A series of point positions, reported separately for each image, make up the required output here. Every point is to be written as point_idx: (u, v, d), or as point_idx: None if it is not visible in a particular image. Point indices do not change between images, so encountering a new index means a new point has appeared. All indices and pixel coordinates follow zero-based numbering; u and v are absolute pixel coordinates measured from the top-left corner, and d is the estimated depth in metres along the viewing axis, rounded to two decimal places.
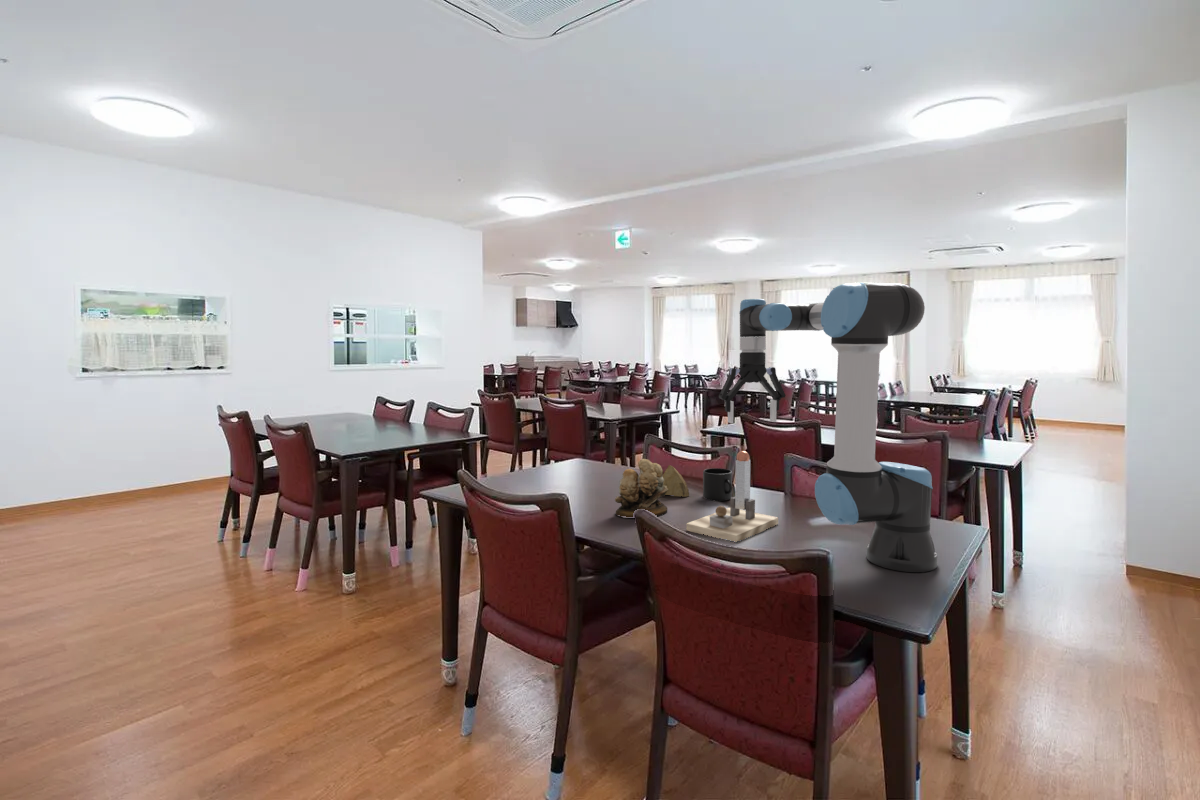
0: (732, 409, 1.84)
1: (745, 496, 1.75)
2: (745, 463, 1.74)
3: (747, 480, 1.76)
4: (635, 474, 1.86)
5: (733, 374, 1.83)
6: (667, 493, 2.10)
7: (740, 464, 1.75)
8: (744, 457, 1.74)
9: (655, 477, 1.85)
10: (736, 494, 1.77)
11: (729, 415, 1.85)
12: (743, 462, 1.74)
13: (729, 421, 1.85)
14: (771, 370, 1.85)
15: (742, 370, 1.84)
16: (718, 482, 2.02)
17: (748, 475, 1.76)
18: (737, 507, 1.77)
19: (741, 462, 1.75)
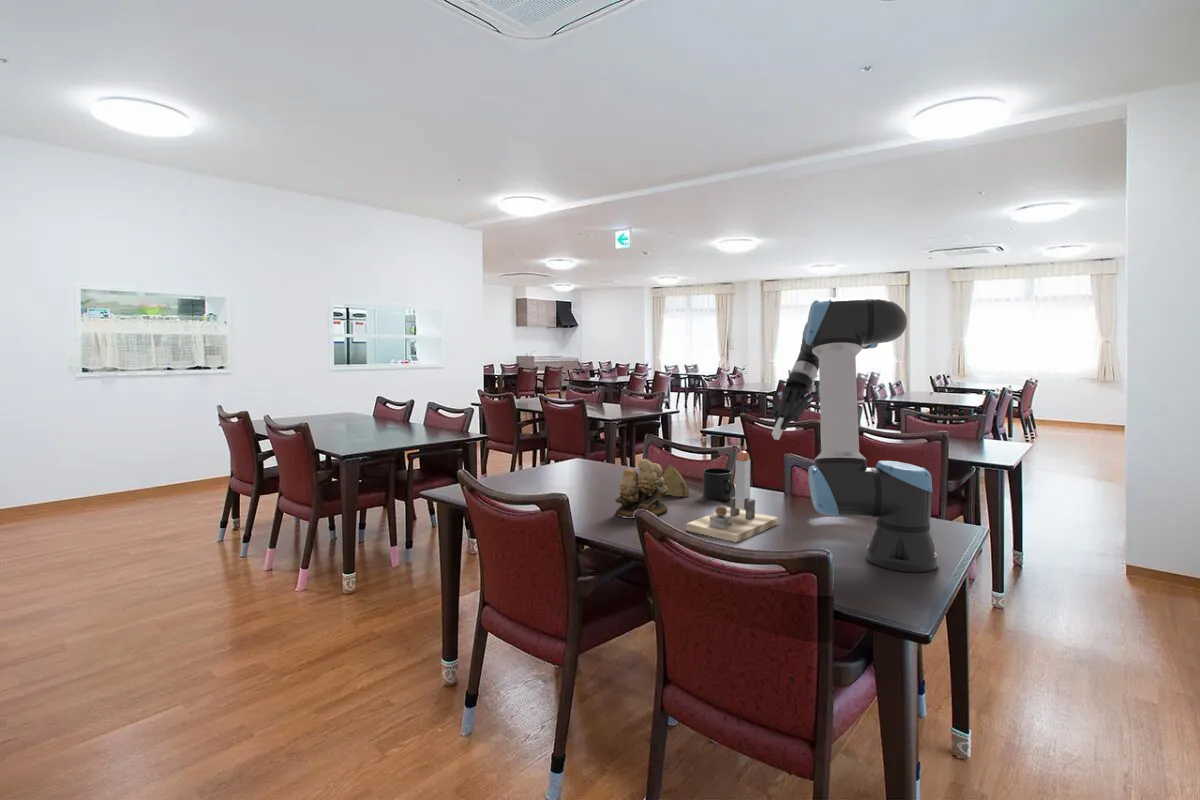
0: (777, 423, 1.90)
1: (745, 496, 1.75)
2: (745, 463, 1.74)
3: (747, 480, 1.76)
4: (635, 474, 1.86)
5: (776, 395, 1.98)
6: (667, 493, 2.10)
7: (740, 464, 1.75)
8: (744, 457, 1.74)
9: (655, 477, 1.85)
10: (736, 494, 1.77)
11: None
12: (743, 462, 1.74)
13: None
14: None
15: (783, 390, 1.98)
16: (718, 482, 2.02)
17: (748, 475, 1.76)
18: (737, 507, 1.77)
19: (741, 462, 1.75)
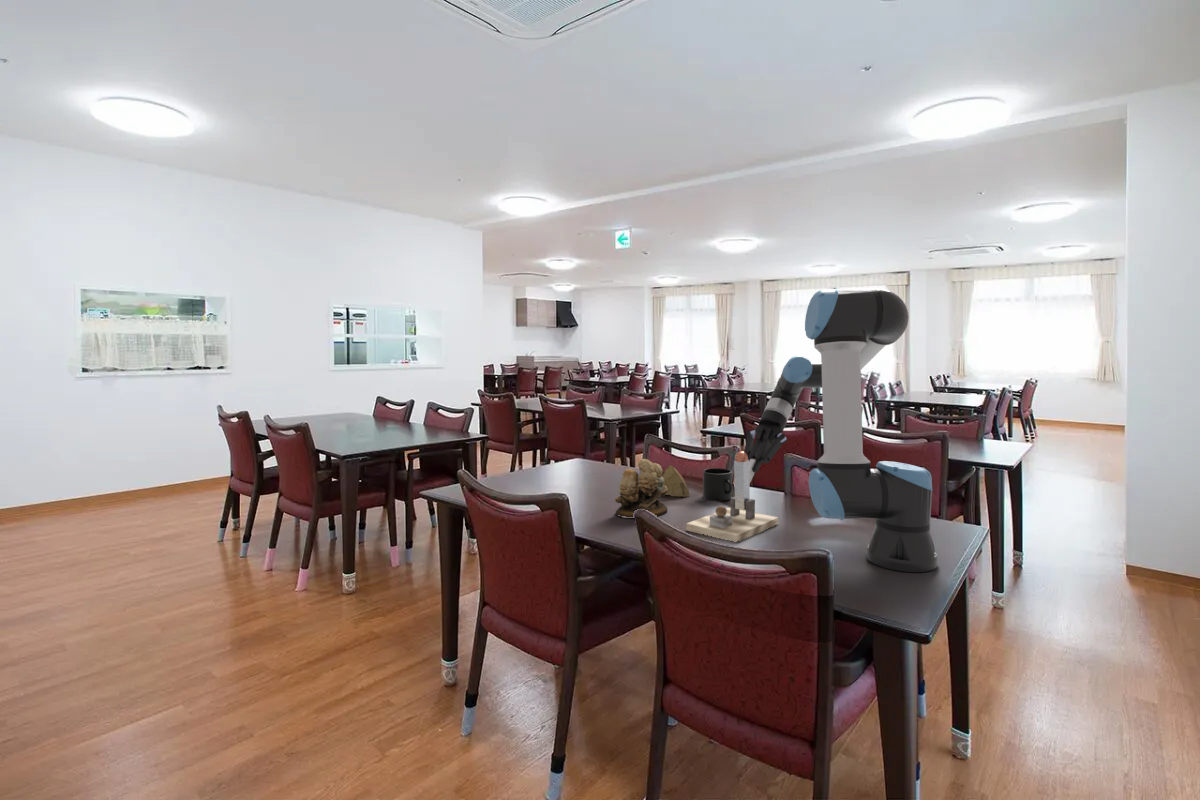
0: None
1: (745, 496, 1.75)
2: (744, 464, 1.74)
3: (746, 480, 1.75)
4: (635, 474, 1.86)
5: (748, 434, 1.88)
6: (667, 493, 2.10)
7: (739, 465, 1.74)
8: (743, 458, 1.73)
9: (655, 477, 1.85)
10: (736, 494, 1.76)
11: None
12: (741, 463, 1.74)
13: None
14: None
15: (756, 428, 1.88)
16: (718, 482, 2.02)
17: (747, 475, 1.75)
18: (737, 507, 1.77)
19: (740, 463, 1.74)
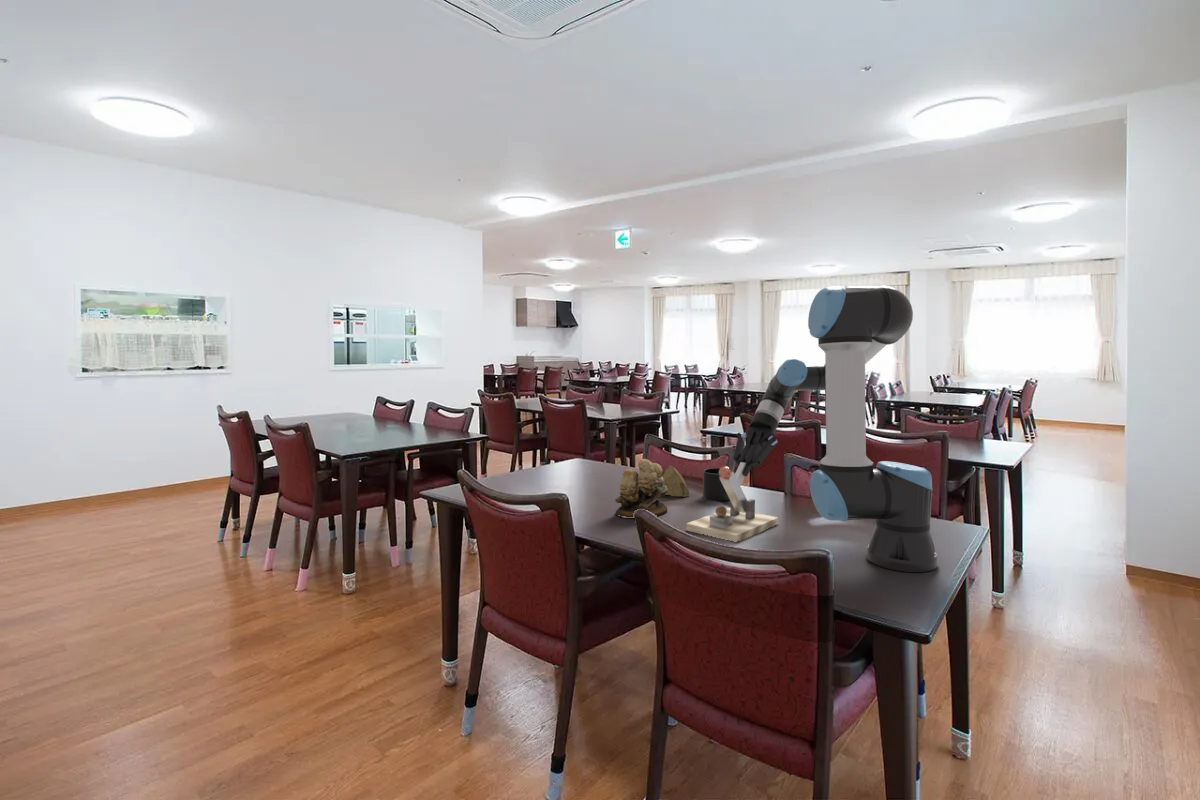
0: (738, 468, 1.75)
1: (741, 502, 1.74)
2: (730, 480, 1.69)
3: (737, 489, 1.72)
4: (635, 474, 1.86)
5: (739, 437, 1.83)
6: (667, 493, 2.10)
7: (725, 481, 1.70)
8: (727, 476, 1.68)
9: (655, 477, 1.85)
10: (732, 502, 1.75)
11: None
12: (727, 480, 1.69)
13: None
14: None
15: (747, 431, 1.84)
16: (718, 482, 2.02)
17: (737, 485, 1.72)
18: (737, 510, 1.77)
19: (726, 480, 1.69)
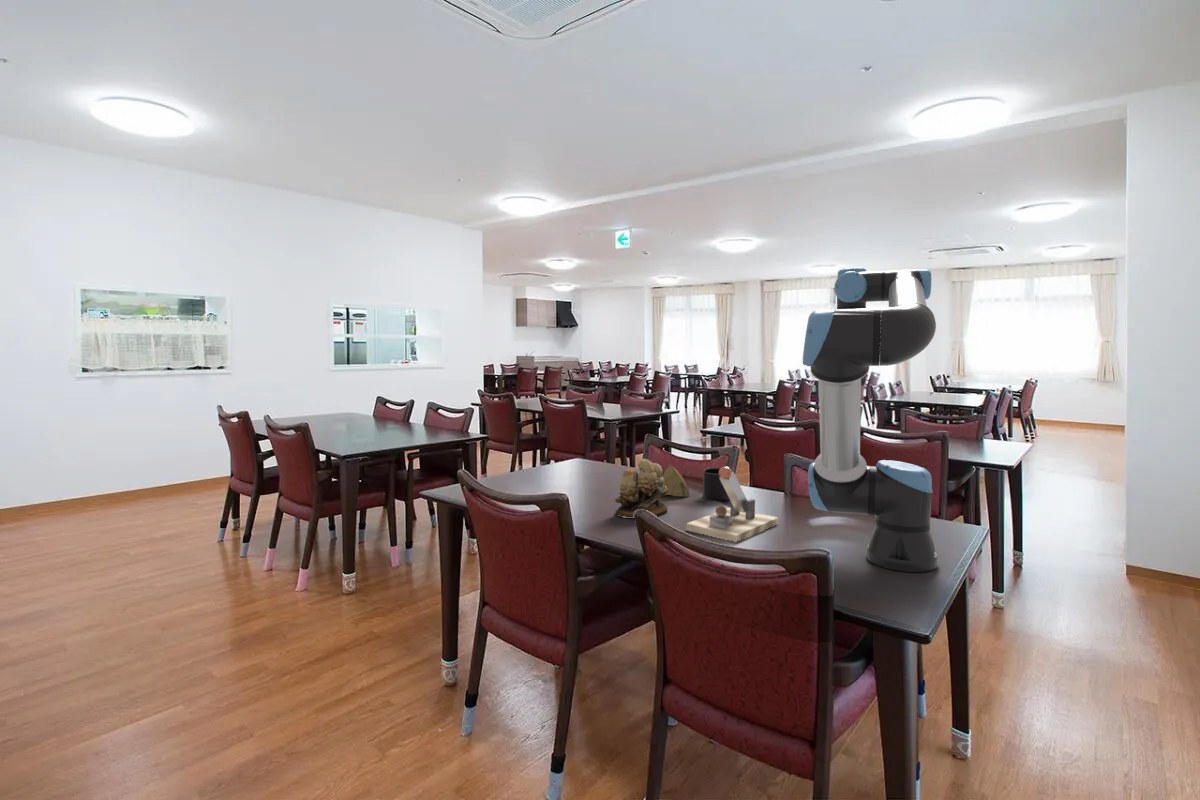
0: None
1: (741, 502, 1.74)
2: (729, 480, 1.69)
3: (737, 489, 1.72)
4: (635, 474, 1.86)
5: None
6: (667, 493, 2.10)
7: (725, 481, 1.70)
8: (727, 476, 1.68)
9: (655, 477, 1.85)
10: (732, 502, 1.75)
11: None
12: (727, 480, 1.69)
13: None
14: None
15: None
16: (718, 482, 2.02)
17: (737, 485, 1.72)
18: (737, 510, 1.77)
19: (726, 480, 1.69)
